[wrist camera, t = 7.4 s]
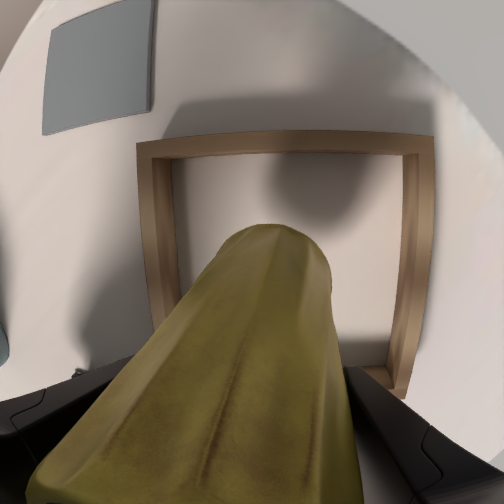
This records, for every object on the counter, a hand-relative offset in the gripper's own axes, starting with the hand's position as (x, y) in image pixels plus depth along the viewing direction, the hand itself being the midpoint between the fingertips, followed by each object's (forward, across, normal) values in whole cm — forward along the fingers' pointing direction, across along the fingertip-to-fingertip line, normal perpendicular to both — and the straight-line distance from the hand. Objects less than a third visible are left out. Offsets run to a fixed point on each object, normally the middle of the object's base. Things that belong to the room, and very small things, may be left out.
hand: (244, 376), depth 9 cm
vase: (+8, 0, 0) cm, 8 cm away
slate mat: (+13, +13, -15) cm, 24 cm away
